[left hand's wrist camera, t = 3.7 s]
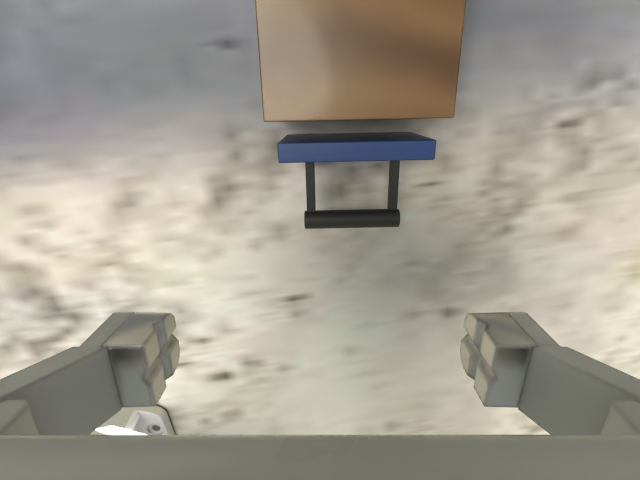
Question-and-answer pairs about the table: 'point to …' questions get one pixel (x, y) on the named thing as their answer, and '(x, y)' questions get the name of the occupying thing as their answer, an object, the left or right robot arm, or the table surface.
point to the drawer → (354, 149)
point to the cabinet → (359, 58)
